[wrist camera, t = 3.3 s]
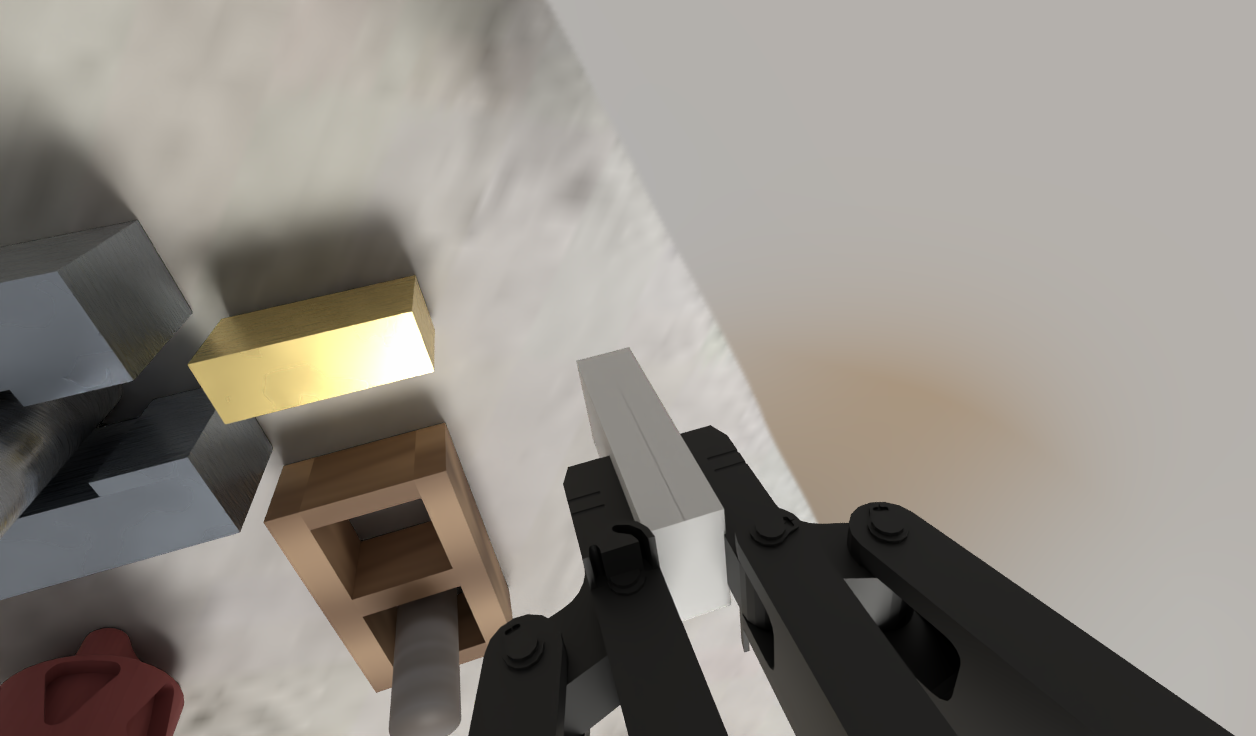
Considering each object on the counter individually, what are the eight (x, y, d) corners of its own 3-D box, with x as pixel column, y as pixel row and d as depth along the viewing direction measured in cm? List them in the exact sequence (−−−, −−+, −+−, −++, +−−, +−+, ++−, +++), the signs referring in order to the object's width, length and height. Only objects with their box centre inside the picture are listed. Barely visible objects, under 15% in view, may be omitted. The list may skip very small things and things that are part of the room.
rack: (283, 465, 25) (228, 620, 19) (445, 422, 27) (447, 553, 20) (381, 631, 32) (367, 791, 25) (509, 591, 33) (527, 733, 26)
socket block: (-217, 289, 18) (-413, 367, 14) (137, 219, 20) (56, 271, 15) (8, 517, 23) (-85, 624, 19) (273, 448, 25) (240, 532, 21)
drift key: (221, 319, 21) (187, 364, 18) (415, 275, 23) (412, 311, 20) (252, 373, 23) (225, 424, 20) (434, 329, 24) (434, 371, 21)
